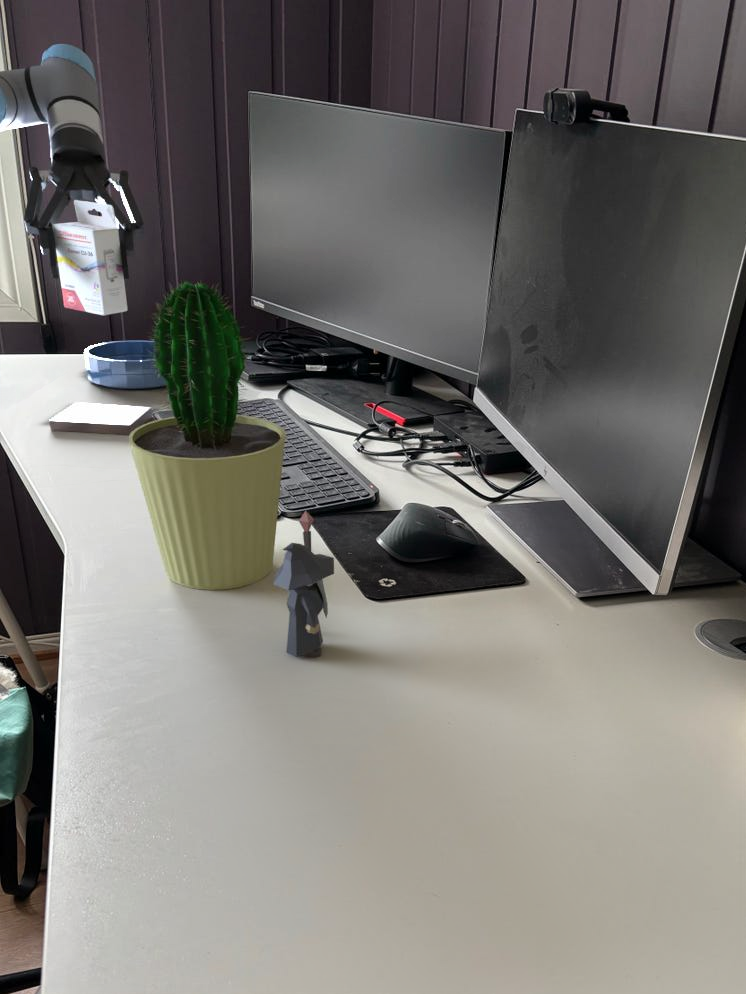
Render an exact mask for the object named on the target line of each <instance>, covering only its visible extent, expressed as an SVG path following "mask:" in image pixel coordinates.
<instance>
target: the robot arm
mask: <svg viewBox="0 0 746 994" xmlns="http://www.w3.org/2000/svg"><path fill="white" fill-rule="evenodd" d="M99 103H100V102H99V85H98V83H97V79H96V74H95V68H94V65H93V62H92V60H91V59H90V57H89V56H88V55H87V54H86V53H85V52H84V51H83V50H81V49H80V48H78V47H77V46H74V45H71V44H66V43H57V44H53V45H51V46H49V48H48V49H46V50H45V51H44V52H43V53H42V57H41V63H40V64H39V65H32V66H29V67H26V68H18V69H7V70H1V71H0V133H1V132H5V131H6V130H13V129H18V128H24V127H30V126H36V125H41V124H47V128H48V129H47V130H48V137H49V147H50V158H51V164H50V165H51V166H49V169H48V170H47V169H45V170H39V169H38V167H36V166H30V167H29V175H30V179H31V182H30V186H29V193H28V196H27V201H26V205H25V211H24V215H23V223H24V226H25V230H26V233H27V234H28V235H34V234H35V235H38V237H39V246H40V247H39V248H40V250H41V253H42V255H43V256H49V264H50V270H51V274H52V279H60V273H59V266H58V260H57V253H56V245H55V238H54V232H53V226H52V224H58V222H59V220H60V218H61V216H62V214H63V212H64V210H65V209H66V207H67V206H69V204H70V202H71V200H72V201H74V200H79V201H81V200H85V201H95V202H96V203H101V204H107V205H112V206H113V208H114V213H115V219H116V225H117V229H118V233H119V242H120V251H121V259H122V268H123V276H124V280H129V279H130V275H129V265H128V264H129V263H128V257H134V256H135V245H134V238H135V237H140V238H142V237H144V236H145V222H144V220H143V216H142V214H141V212H140V209H139V207H138V204H137V202H136V199H135V196H134V194H133V192H132V189H131V187H130V185H131V184H130V175H129V171H127V170H125V169H123V170H120V171H119V173H114V172H111V171H110V170H109V169H108V166H107V163H106V154H105V146H104V137H103V129H102V128H103V127H102V120H101V115H100V114H101V113H100V112H101V111H100V104H99ZM50 181H51V182H52V183H53V184H54V185H55V191H54V193H53V195H52V196H51V198H50V200H49V202H48V204H47V206H46V207H45V209H44V211H43V213H42V214H41V216H40V212H41V207H42V202H43V198H44V197H43V196H44V190H45V189H46V188H47V186H48V182H50ZM110 184H112V185H114V188H115V189H116V190H117V191H118V192H120V196H121V199H122V202H123V205H124V207H125V209H126V212H127V214H128V217H129V219H130V220H128V219H127V217H126V216H125V214H124V213H123V212H122V210H121V209H120V207H119V206H118V204H117V203H116V202H115V201H114V200H113V199H114V198H112V196H111V195H110V194H109V192H108V191H107V188H108V187H109V185H110Z"/></svg>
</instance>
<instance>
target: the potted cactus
mask: <svg viewBox="0 0 746 994" xmlns="http://www.w3.org/2000/svg"><path fill="white" fill-rule="evenodd" d="M180 281H181V283H179V281H178V280H176V283H177V284H178V288H175V289H174V287H173V286H172V284H171V283H170V282H168V286H169V289H170V291H171V292H169V293H170V294H169V293H168V292H167V290H166V289H164V290H165V294H164V293H162V296H163V297H164V301H163V305H162V304H161V303H160V302H158V301H157V300H156V299H152V300H153V302H154V304H155V305H156V306H155V309H157V310H158V313H156V312H153V311H152V316H151V315H149V314H150V312H148V311H147V316H149V317H150V318H152V320H154V321H155V320H156V321H157V322H156V323H155V325H153V326H150V325H149V330H152V328H153V327H154V328H153V332H154V333H152V332H149V334H148V331H147V332H145V333H147V334H148V335H147V338H148V339H149V340H150V341H154V343H155V344H154V346H153V347H154V349H152V350H155V351H154V352H155V353H152V355H154V359H155V360H154V361H156V367H155V365H150V366H154V367H155V368H157V370H158V369H159V370H158V371H159V373H160V374H158V375H157V376H158V377H159V376H160V375H161V376H163V377H164V378H165V380H166V385H162V387H163V388H165V389H163V390H162V391H161V392H159V394H162V393H164V394H165V396H166V395H167V396H168V401H169V402H167V399H165V400H163V401H161V402H160V404H161V403H165V402H166V403H167V404H164V407H165V408H162V409H161V411H162V410H166V409H168V410H171V411H169V412H166V413H163V415H167V414H170V413H172V415H173V416H170V417H169V416H168V417H164V418H160V419H156V420H152V421H149V422H146V423H144V424H143V425H142V426H140V427H138V428H136V429H135V430H133V431H132V432H131V433H130V435H128V443H129V444H130V450H131V454H132V458H133V462H134V464H135V465H134V466H135V469H136V472H137V476H138V480H139V482H140V485H141V489H142V490H141V491H142V493H143V496H144V501H145V504H146V507H147V512H148V515H149V518H150V522H151V525H152V528H153V532H154V536H155V539H156V542H157V546H158V550H159V553H160V557H161V560H162V564H163V568H164V571H165V573H166V576H167V577H168V578H169V579H170V580H171V581H173V582H174V583H175V584H178V585H180V586H183V587H187V588H191V589H197V590H208V591H212V590H213V591H217V590H218V591H219V590H230V589H237V588H241V587H245V586H248V585H251V584H255V583H256V582H259V581H260V580H262V579H264V578H265V577H267V576H268V575H269V574H270V573H271V571H272V568H273V564H274V555H275V544H276V536H277V535H276V534H277V533H276V532H277V526H278V525H277V523H278V513H279V503H280V495H281V481H282V472H283V464H284V463H283V462H284V453H285V441H286V439H287V432H286V431H285V429H284V428H283V427H282V426H281V425H279V424H278V423H275V422H272V421H270V420H267V419H263V418H258V417H255V416H249V415H243V414H242V412H240V411H238V408H239V407H238V406H239V405H238V404H244V405H246V402H245V401H246V398H241V399H239V396H240V395H242V396H243V394H241V393H240V391H242V390H243V391H249V389H247V388H245V385H244V384H242V383H244V382H243V381H242V379H244V377H245V379H247V377H249V378H250V376H248V375H246V374H245V373H243V372H244V371H246V372H248V369H247V370H246V367H248V366H249V367H250V364H249V363H248V362H247V361H246V359H247V357H246V356H249V355H250V353H248V354H245V353H247V352H249V350H242V349H245V348H247V346H245V344H243V342H245V341H248V340H250V339H253V338H254V336H253V337H250V338H249V337H248V336H247V337H243V335H241V336H240V334H241V331H240V325H238V323H239V322H238V320H240V318H241V317H240V318H238V319H236V318H235V317H234V316H233V313H231V311H230V309H231V307H233V306H235V305H236V304H237V303H238V301H237V302H236V303H235V302H234V303H233V304H229V305H228V306H227V304H228V301H225V300H227V299H228V298H230V296H228V297H223V296H222V297H220V295H221V294H220V293H221V291H222V288H220V289H219V286H220V282H221V279H220V280H219V282H218V283H217V285H216V286H215V284H216V282H213V284H212V286H211V287H210V286H208V285H207V284H206V283H207V282H205V283H203V282H202V281H203V280H202V279H200V281H199V282H197V283H196V282H195V281H194V280H192V282H190V281H188V280H184V283H183V280H180ZM214 286H215V288H214V289H213V287H214ZM217 293H218V295H217ZM226 295H227V293H225V294H224V296H226ZM148 313H149V314H148ZM247 326H248V325H244V326H242V327H241V329H242V328H245V327H247ZM151 335H152V336H151ZM242 337H243V338H242ZM149 344H150V343H149ZM151 348H152V347H151ZM146 350H147V349H146ZM149 352H150V351H149ZM253 352H254V351H253ZM253 352H251V354H252V353H253ZM148 354H149V353H148ZM150 355H151V354H150ZM152 358H153V357H152ZM148 359H150V358H148ZM144 360H146V359H144ZM152 360H153V359H152ZM153 363H155V362H153ZM245 364H246V365H245ZM151 368H152V367H151ZM146 369H150V368H146ZM158 371H157V372H158ZM157 372H156V373H157ZM156 373H155V374H156ZM155 374H154V375H155ZM154 375H153V376H154ZM155 380H156V379H155ZM239 386H240V391H239ZM166 391H167V392H166Z"/></svg>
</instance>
